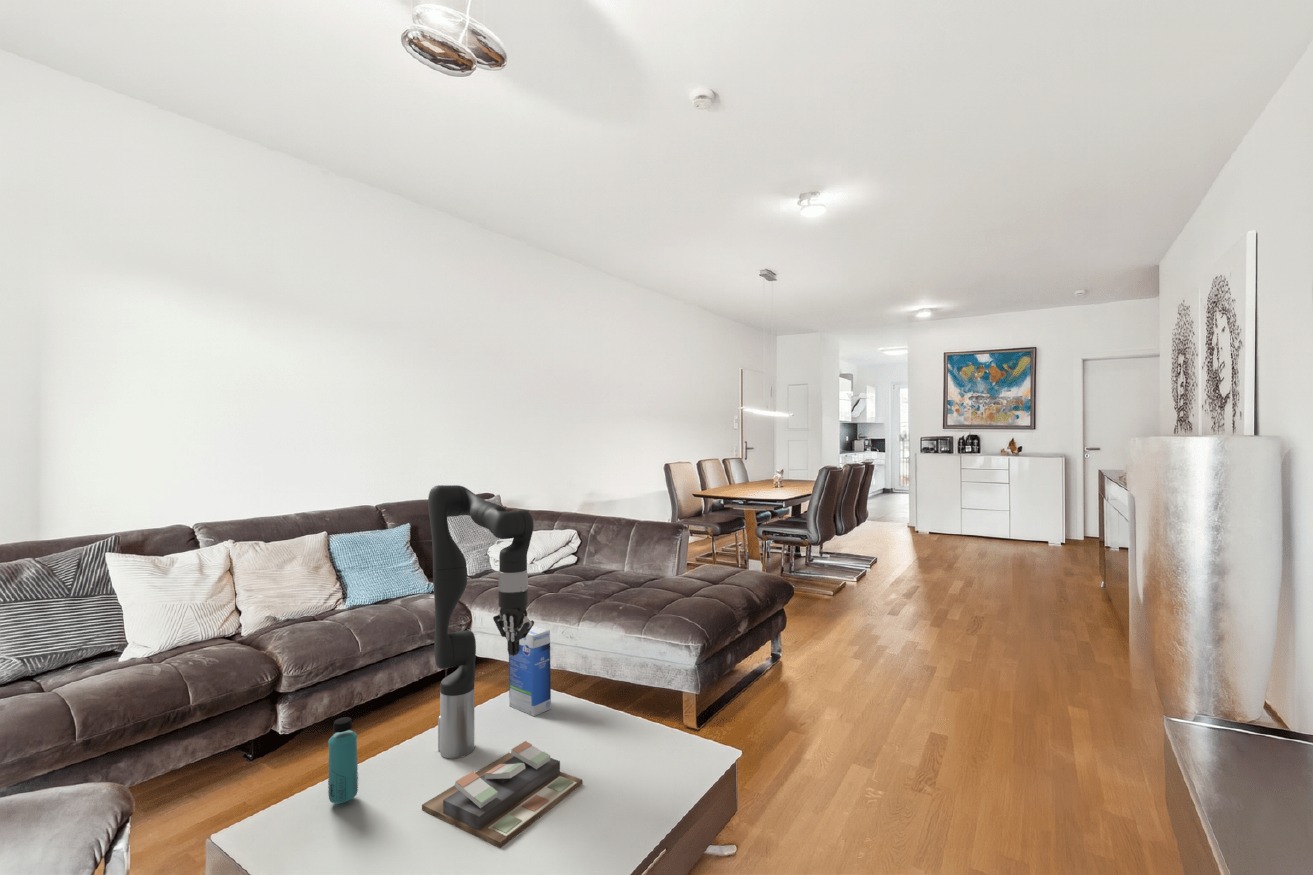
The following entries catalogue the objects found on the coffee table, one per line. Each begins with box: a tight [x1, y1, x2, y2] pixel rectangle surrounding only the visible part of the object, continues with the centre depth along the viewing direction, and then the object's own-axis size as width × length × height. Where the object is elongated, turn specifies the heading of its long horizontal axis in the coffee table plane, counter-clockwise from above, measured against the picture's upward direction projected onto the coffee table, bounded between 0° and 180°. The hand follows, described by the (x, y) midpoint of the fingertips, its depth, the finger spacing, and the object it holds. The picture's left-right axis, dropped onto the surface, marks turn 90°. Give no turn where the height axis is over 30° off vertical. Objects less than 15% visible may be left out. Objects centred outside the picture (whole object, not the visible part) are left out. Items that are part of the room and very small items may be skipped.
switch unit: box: [421, 752, 583, 849], centre depth 146 cm, size 26×28×5 cm
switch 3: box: [510, 740, 551, 769], centre depth 154 cm, size 9×5×1 cm, turn 58°
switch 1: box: [454, 770, 498, 808], centre depth 139 cm, size 9×5×1 cm, turn 58°
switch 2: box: [484, 763, 525, 779], centre depth 147 cm, size 9×5×1 cm, turn 58°
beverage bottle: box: [327, 716, 359, 804], centre depth 145 cm, size 6×7×20 cm
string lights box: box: [508, 625, 552, 717], centre depth 196 cm, size 13×8×26 cm, turn 51°
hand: (513, 654), depth 155 cm, fingers closed
